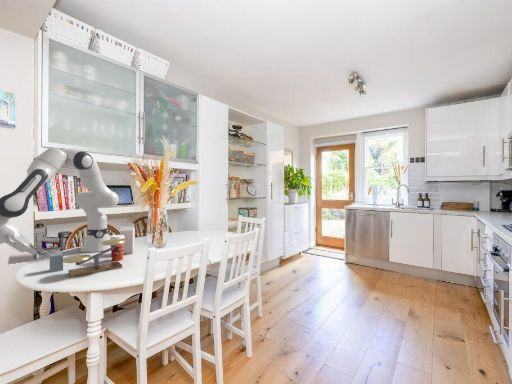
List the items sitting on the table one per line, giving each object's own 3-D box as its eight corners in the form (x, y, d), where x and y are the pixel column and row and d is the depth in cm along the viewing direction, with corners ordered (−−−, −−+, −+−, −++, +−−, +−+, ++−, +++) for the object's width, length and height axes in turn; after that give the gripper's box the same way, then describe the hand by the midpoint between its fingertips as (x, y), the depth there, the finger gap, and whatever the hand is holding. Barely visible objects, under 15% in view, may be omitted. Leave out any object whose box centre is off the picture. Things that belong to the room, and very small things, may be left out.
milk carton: (132, 253, 158) (132, 224, 158) (120, 254, 156) (120, 224, 156) (134, 250, 165) (134, 222, 164) (122, 251, 163) (123, 222, 162)
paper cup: (118, 262, 141) (118, 237, 141) (106, 260, 143) (106, 236, 142) (127, 258, 149) (127, 234, 148) (116, 257, 150) (116, 234, 150)
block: (49, 269, 127) (49, 254, 126) (62, 267, 130) (61, 252, 130) (50, 272, 123) (50, 256, 123) (63, 270, 126) (63, 254, 126)
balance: (61, 273, 122) (61, 245, 122) (122, 262, 141) (122, 238, 140) (64, 280, 114) (64, 250, 114) (128, 267, 133) (128, 241, 132)
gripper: (12, 232, 108) (42, 250, 115) (14, 225, 123) (40, 242, 130) (-2, 243, 105) (29, 262, 112) (1, 235, 120) (29, 252, 127)
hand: (35, 251), depth 121 cm, fingers open, 8 cm apart
